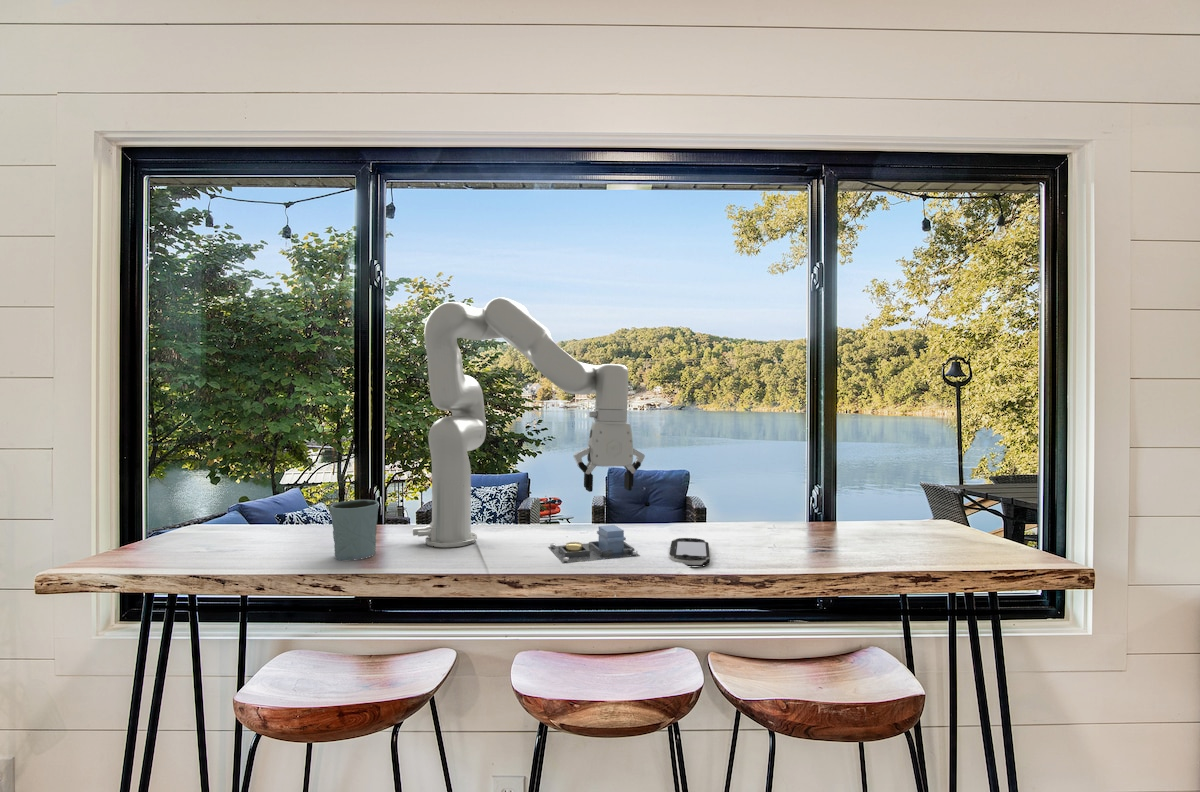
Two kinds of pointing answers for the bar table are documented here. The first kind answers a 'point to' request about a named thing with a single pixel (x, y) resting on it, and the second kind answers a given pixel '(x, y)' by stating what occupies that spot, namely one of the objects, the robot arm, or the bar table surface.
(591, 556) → the plate
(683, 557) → the gaming console
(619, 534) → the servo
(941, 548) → the bar table surface
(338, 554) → the grey-green cup
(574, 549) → the bushing
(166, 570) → the bar table surface
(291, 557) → the bar table surface
